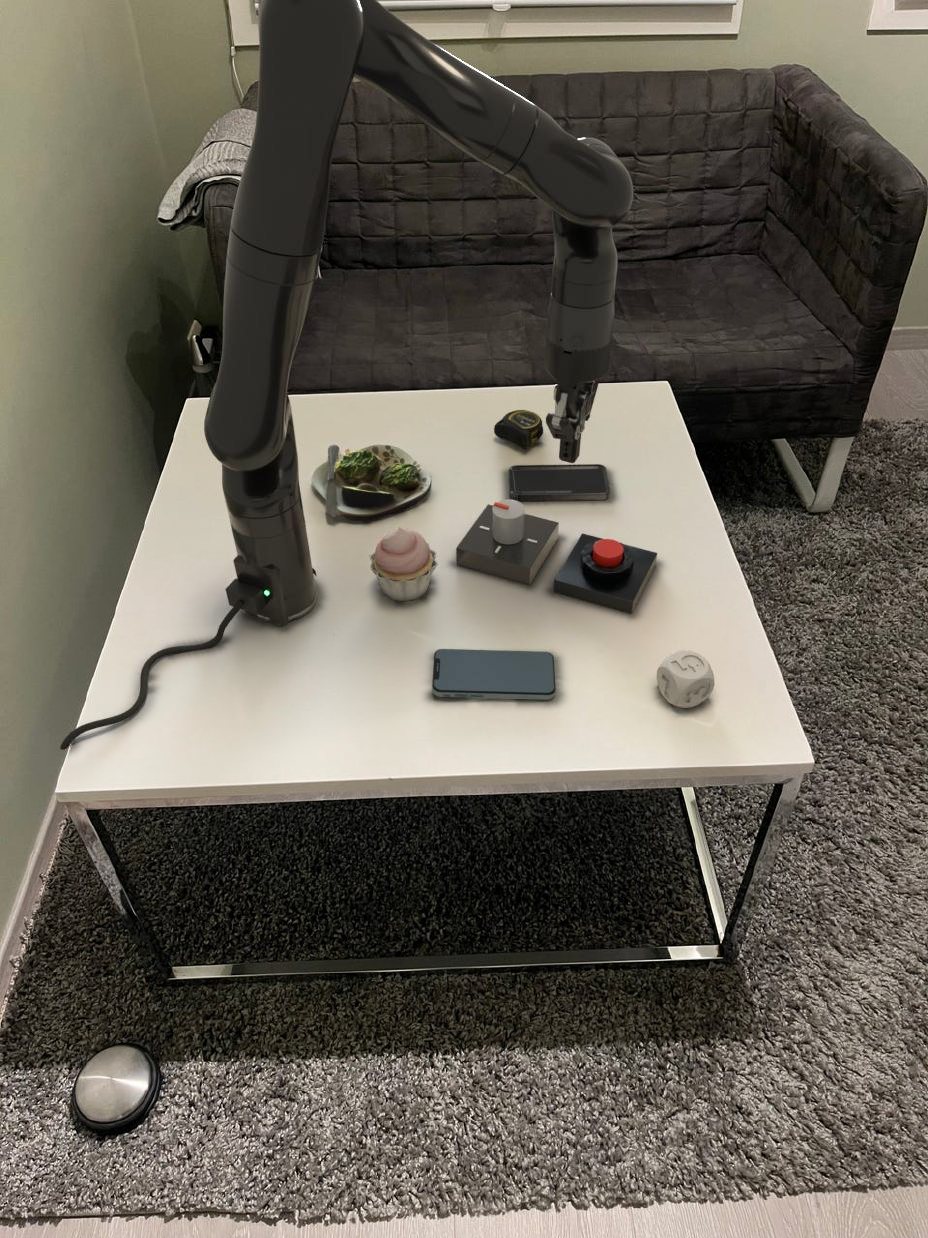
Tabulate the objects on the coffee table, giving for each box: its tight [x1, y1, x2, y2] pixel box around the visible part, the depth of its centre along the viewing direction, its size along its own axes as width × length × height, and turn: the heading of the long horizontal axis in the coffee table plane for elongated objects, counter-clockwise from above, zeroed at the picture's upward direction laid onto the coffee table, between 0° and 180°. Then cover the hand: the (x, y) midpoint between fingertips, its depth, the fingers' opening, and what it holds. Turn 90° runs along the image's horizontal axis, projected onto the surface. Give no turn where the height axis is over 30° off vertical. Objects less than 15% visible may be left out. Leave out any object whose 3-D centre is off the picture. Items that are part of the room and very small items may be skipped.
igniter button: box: [593, 538, 623, 567], centre depth 136 cm, size 4×4×2 cm
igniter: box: [553, 533, 658, 615], centre depth 138 cm, size 11×11×4 cm
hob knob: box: [492, 498, 526, 545], centre depth 140 cm, size 4×4×5 cm
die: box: [656, 649, 715, 709], centre depth 122 cm, size 5×5×5 cm
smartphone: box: [431, 648, 557, 701], centre depth 125 cm, size 8×2×15 cm
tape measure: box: [493, 409, 544, 450], centre depth 163 cm, size 7×7×4 cm
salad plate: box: [310, 443, 433, 522], centre depth 155 cm, size 19×18×5 cm
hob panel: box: [455, 503, 560, 586], centre depth 142 cm, size 11×11×3 cm
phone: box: [508, 463, 611, 502], centre depth 154 cm, size 8×1×15 cm
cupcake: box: [368, 527, 439, 602], centre depth 135 cm, size 9×9×10 cm
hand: (568, 458), depth 127 cm, fingers closed
